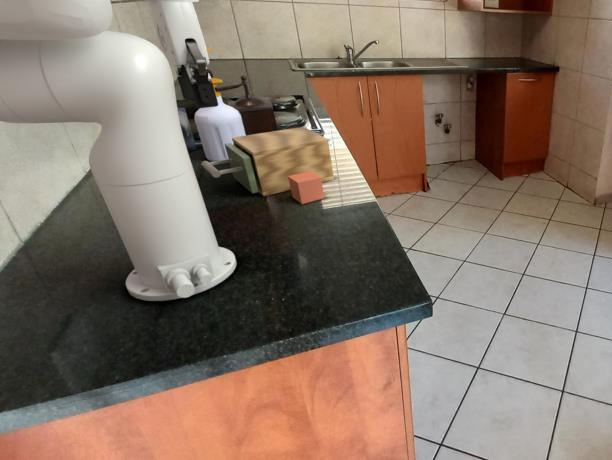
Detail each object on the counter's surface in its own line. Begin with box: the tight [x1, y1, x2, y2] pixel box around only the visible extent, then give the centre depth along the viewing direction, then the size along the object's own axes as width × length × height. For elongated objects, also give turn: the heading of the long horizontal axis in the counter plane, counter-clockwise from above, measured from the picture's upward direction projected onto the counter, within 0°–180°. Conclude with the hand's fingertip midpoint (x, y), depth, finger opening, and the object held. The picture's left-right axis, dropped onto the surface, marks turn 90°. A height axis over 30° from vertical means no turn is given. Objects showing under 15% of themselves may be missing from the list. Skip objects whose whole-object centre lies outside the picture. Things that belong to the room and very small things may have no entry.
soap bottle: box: [193, 46, 246, 162], centre depth 97 cm, size 9×9×25 cm
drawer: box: [200, 143, 259, 194], centre depth 87 cm, size 19×11×7 cm, turn 136°
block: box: [288, 171, 325, 205], centre depth 84 cm, size 4×4×4 cm
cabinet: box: [232, 126, 335, 197], centre depth 91 cm, size 15×12×9 cm
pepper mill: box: [207, 68, 279, 135], centre depth 111 cm, size 16×11×18 cm
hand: (200, 102), depth 76 cm, fingers open, 7 cm apart
